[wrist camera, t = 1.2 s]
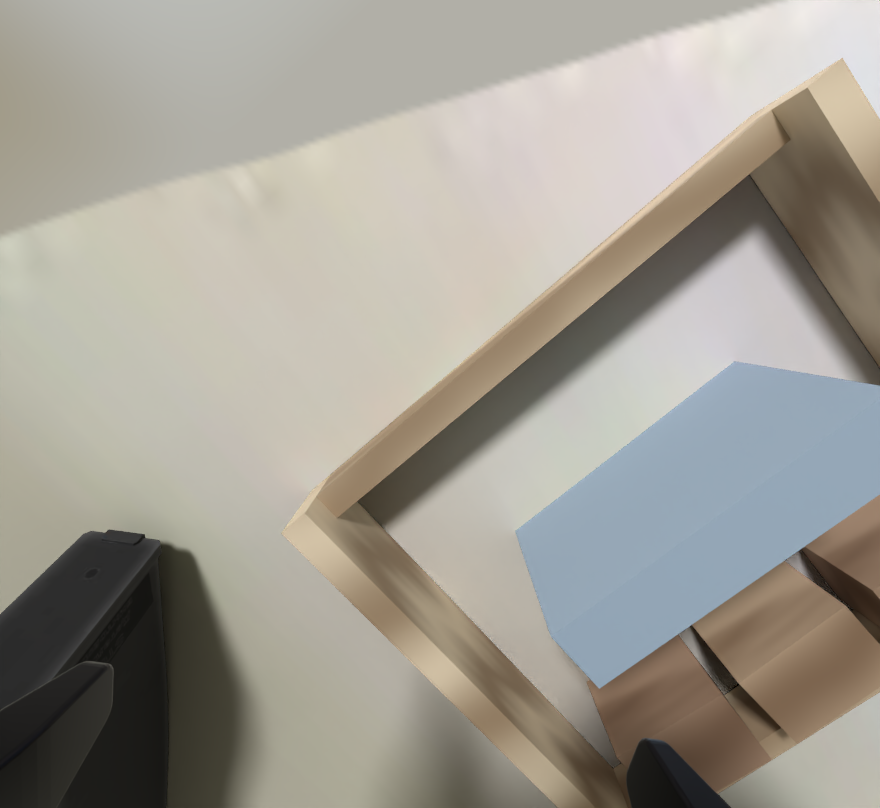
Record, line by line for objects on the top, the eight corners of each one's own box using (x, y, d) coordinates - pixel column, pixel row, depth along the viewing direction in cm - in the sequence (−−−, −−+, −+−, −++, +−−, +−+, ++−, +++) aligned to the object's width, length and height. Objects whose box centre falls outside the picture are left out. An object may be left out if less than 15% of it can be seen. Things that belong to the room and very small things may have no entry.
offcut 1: (714, 682, 23) (772, 759, 19) (630, 733, 23) (668, 819, 19) (671, 626, 22) (722, 694, 18) (586, 680, 22) (617, 757, 19)
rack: (1020, 525, 21) (1156, 575, 17) (608, 795, 24) (641, 890, 20) (751, 115, 17) (842, 58, 13) (311, 490, 20) (281, 533, 16)
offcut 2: (819, 606, 22) (903, 671, 18) (735, 668, 22) (797, 744, 18) (770, 551, 21) (845, 605, 17) (685, 616, 22) (738, 683, 18)
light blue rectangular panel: (765, 404, 20) (938, 453, 13) (548, 567, 21) (599, 689, 14) (733, 361, 19) (894, 388, 12) (514, 530, 21) (550, 636, 14)
